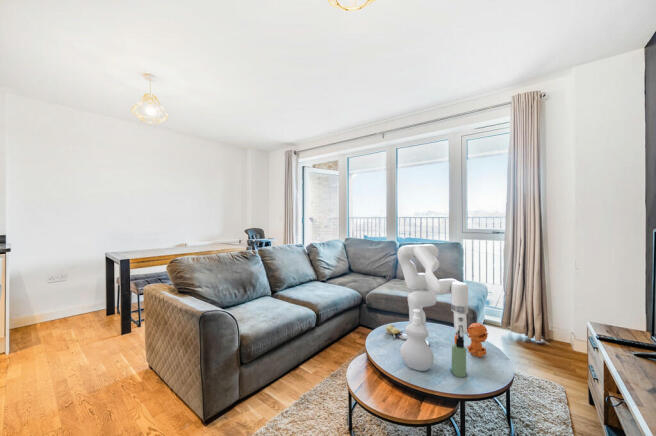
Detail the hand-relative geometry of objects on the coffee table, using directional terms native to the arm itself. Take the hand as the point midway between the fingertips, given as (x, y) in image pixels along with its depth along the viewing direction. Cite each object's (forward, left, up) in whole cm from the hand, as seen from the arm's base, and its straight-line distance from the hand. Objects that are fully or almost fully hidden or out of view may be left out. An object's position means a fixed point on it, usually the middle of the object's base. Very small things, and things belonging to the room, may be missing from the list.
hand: (459, 344), depth 132 cm
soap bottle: (-20, -2, -15) cm, 25 cm away
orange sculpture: (+10, +24, -15) cm, 30 cm away
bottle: (0, 0, -14) cm, 14 cm away
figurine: (-35, +29, -15) cm, 48 cm away
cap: (0, 0, +1) cm, 1 cm away
